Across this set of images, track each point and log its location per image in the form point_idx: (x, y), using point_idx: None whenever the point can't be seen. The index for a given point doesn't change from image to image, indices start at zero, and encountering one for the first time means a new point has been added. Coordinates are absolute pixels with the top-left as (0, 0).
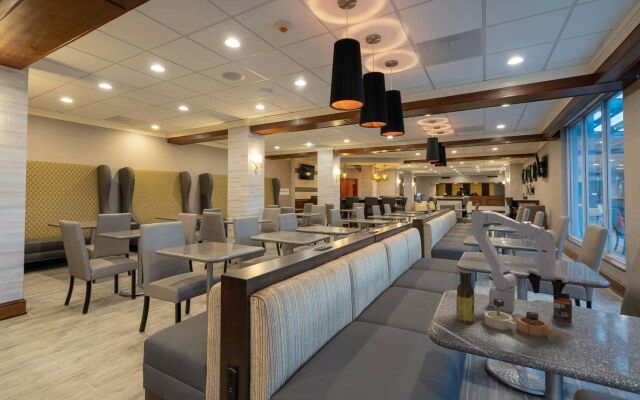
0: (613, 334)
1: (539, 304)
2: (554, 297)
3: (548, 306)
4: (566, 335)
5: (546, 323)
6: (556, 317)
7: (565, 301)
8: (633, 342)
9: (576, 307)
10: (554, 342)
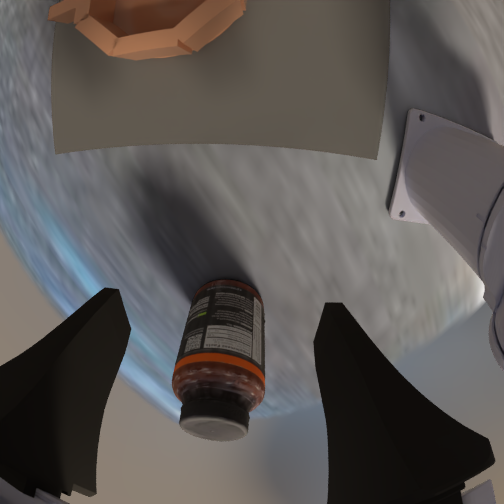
0: None
1: None
2: (100, 296)
3: None
4: (75, 122)
5: (93, 38)
6: (232, 286)
7: (178, 370)
8: (49, 302)
9: (278, 411)
10: None
